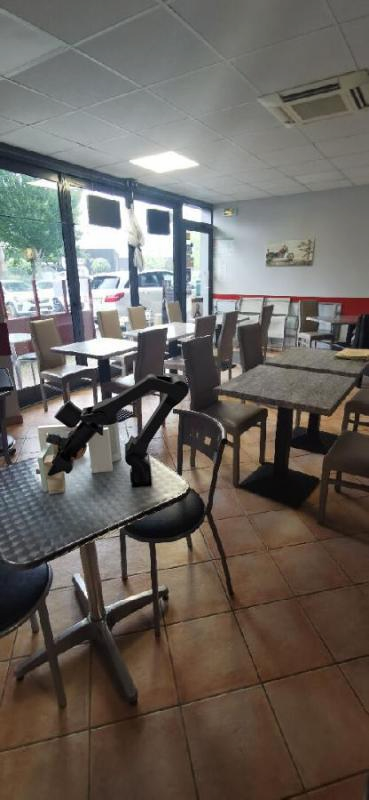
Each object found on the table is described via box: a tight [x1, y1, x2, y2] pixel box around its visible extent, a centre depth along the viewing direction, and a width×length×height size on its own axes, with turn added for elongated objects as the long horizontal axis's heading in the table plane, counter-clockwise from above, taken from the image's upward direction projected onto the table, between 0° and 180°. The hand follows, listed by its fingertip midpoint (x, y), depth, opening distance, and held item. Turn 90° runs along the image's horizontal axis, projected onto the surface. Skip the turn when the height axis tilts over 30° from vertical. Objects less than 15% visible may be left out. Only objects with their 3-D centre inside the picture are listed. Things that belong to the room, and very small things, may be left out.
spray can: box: [103, 413, 122, 463], centre depth 146 cm, size 7×7×20 cm
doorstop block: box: [44, 455, 67, 494], centre depth 127 cm, size 4×5×11 cm
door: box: [35, 443, 54, 492], centre depth 132 cm, size 12×3×12 cm, turn 3°
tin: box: [53, 443, 88, 461], centre depth 148 cm, size 15×3×8 cm, turn 132°
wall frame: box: [37, 423, 114, 474], centre depth 137 cm, size 23×2×18 cm, turn 93°
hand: (50, 471), depth 126 cm, fingers closed on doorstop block, 5 cm apart
